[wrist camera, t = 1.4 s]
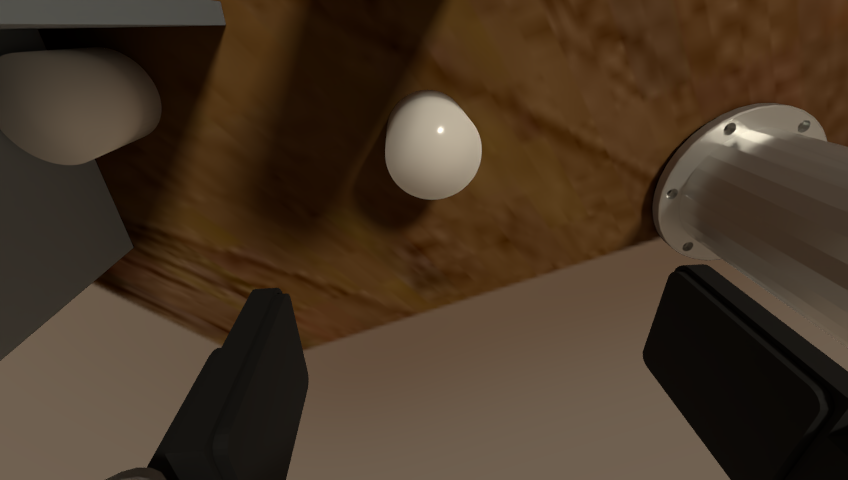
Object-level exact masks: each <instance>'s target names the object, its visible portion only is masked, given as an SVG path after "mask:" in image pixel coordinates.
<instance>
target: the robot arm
mask: <svg viewBox="0 0 848 480" xmlns="http://www.w3.org/2000/svg"><path fill="white" fill-rule="evenodd" d="M652 210H653V221H654V224H655V227H656V230H657V232H658V233H659V235H660V236H661V238H662V239H663V240H664V241H665V242H666V243H667V244H668V245H669V246H671V247H672V248H673V249H674V250H675V251H677V252H678V253H680V254H682V255H684V256H687V257H690V258H693V259H700V260H720V259H723V260H725V261H726V262H727V263H729V264H730V265H731V266H733V267H734V268H736V269H737V270H738V271H740V272H741V273H743V274H744V275H745V276H747V277H748V278H750V279H751V280H752V281H754V282H755V283H757V284H758V285H760V286H761V287H762V288H764V289H765V290H767V291H768V292H770V293H771V294H772V295H774V296H775V297H776V298H778V299H779V300H781V301H782V302H783V303H785V304H786V305H787V306H789V307H790V308H792V309H793V310H794V311H796V312H797V313H799V314H800V315H802V316H803V317H804V318H806V319H807V320H809V321H810V322H811V323H813V324H814V325H816V326H817V327H818V328H820V329H821V330H823V331H824V332H825V333H827V334H828V335H830V336H831V337H832V338H834V339H835V340H837V341H838V342H840V343H841V344H842V345H844V346H845V347H846V348H848V147H846V146H842V145H838V144H834V143H831V142H827V139H826V136H825V133H824V130H823V128H822V127H821V125H820V124H819V123H818V121H817V120H816V119H815V118H814V117H813V116H811V115H810V114H809V113H807V112H806V111H804V110H801V109H798V108H795V107H792V106H788V105H782V104H776V103H758V104H753V105H748V106H744V107H740V108H737V109H735V110H732V111H730V112H727V113H725V114H723V115H721V116H719V117H717V118H716V119H714V120H712V121H711V122H709V123H707V124H706V125H704V126H703V127H702V128H701V129H699V130H698V131H697V132H695V133H694V134H693V135H692V136H690V137H689V139H688V140H687V141H686V142H685V143H684V144H683V145H682V146H681V147H680V148H679V149H678V150H677V151H676V153H675V154H674V155H673V157H672V158H671V159H670V161H669V162H668V164H667V165H666V167H665V169H664V171H663V173H662V175H661V176H660V178H659V181H658V184H657V187H656V190H655V193H654V199H653V206H652ZM643 359H644V362H645V364H646V366H647V367H648V369H649V370H650V371H651V373H652V374H653V376H654V377H655V378H656V379H657V381H658V382H659V383H660V385H661V386H662V388H663V389H664V390H665V392H666V393H667V394H668V396H669V397H670V398H671V400H672V401H673V402H674V404H675V405H676V406H677V408H678V409H679V410H680V412H681V413H682V415H683V416H684V417H685V418H686V420H687V421H688V423H689V424H690V425H691V427H692V428H693V429H694V431H695V432H696V434H697V435H698V436H699V437H700V439H701V440H702V442H703V443H704V444H705V446H706V447H707V448H708V450H709V451H710V452H711V454H712V455H713V456H714V458H715V459H716V460H717V462H718V463H719V465H720V466H721V467H722V468H723V470H724V471H725V473H726V474H727V475H728V477H729V478H730V479H731V480H848V371H846V370H845V369H844V368H842V367H841V366H840V365H839V364H837V363H836V362H834V361H833V360H832V359H831V358H829V357H828V356H827V355H825V354H824V353H823V352H821V351H820V350H819V349H817V348H816V347H815V346H814V345H812V344H811V343H809V342H808V341H807V340H806V339H804V338H803V337H802V336H800V335H799V334H798V333H796V332H795V331H794V330H792V329H791V328H790V327H789V326H787V325H786V324H785V323H783V322H782V321H781V320H779V319H778V318H777V317H776V316H774V315H773V314H771V313H770V312H769V311H768V310H766V309H765V308H764V307H762V306H761V305H760V304H758V303H757V302H756V301H755V300H753V299H752V298H750V297H749V296H748V295H747V294H745V293H744V292H743V291H741V290H740V289H739V288H737V287H736V286H735V285H733V284H732V283H731V282H729V281H728V280H727V279H725V278H724V277H723V276H722V275H720V274H719V273H718V272H716V271H715V270H714V269H712V268H711V267H710V266H708V265H703V264H702V265H683V266H679V267H677V268H676V269H675V271H674V272H672V273H671V274H670V275H669V277H668V280H667V283H666V286H665V289H664V291H663V294H662V297H661V300H660V303H659V306H658V309H657V312H656V315H655V318H654V321H653V323H652V327H651V329H650V333H649V335H648V338H647V341H646V344H645V347H644V350H643ZM307 389H308V372H307V367H306V363H305V359H304V354H303V350H302V346H301V341H300V337H299V333H298V328H297V324H296V320H295V315H294V311H293V307H292V303H291V298H290V296H289V294H282V291H281V290H280V289H279V288H268V289H254V290H253V291H252V292H251V294H250V296H249V297H248V299H247V301H246V303H245V305H244V307H243V309H242V310H241V312H240V314H239V316H238V318H237V320H236V322H235V323H234V325H233V327H232V329H231V331H230V333H229V335H228V336H227V338H226V340H225V342H224V344H223V346H222V348H217V349H216V350H214V351H213V352H212V353H211V355H210V356H209V357H208V359H207V361H206V363H205V365H204V366H203V368H202V370H201V372H200V374H199V375H198V377H197V379H196V381H195V383H194V384H193V386H192V388H191V390H190V391H189V393H188V395H187V397H186V399H185V400H184V402H183V404H182V406H181V407H180V409H179V411H178V413H177V415H176V416H175V418H174V420H173V422H172V423H171V425H170V427H169V429H168V431H167V432H166V434H165V436H164V438H163V440H162V441H161V443H160V445H159V447H158V448H157V450H156V452H155V454H154V456H153V458H152V459H151V461H150V463H149V464H148V466H147V468H134V469H130V470H126V471H123V472H120V473H118V474H116V475H114V476H112V477H110V478H108V479H106V480H286V477H287V473H288V469H289V464H290V460H291V456H292V451H293V448H294V444H295V439H296V435H297V431H298V427H299V423H300V418H301V414H302V410H303V406H304V402H305V398H306V393H307Z"/></svg>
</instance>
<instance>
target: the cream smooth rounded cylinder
mask: <svg viewBox="0 0 848 480" xmlns="http://www.w3.org/2000/svg"><path fill="white" fill-rule="evenodd" d="M481 155H482V146H481V140H480V136H479V134H478V131H477V129H476V127H475V126H474V124H473V123H472V121H471V120H470V119H469V118H468V117H467V115H466V114H465V113H464V112H463V110H462V109H461V108H460V107H459V105H458V104H457V103H456V102H455V101H454V100H453V99H452V98H451V97H449V96H448V95H446V94H444V93H442V92H439V91H434V90H420V91H416V92H413V93H411V94H409V95H407V96H405V97H404V98H403V99H401V100H400V101H399V102H398V103H397V104H396V106H395V107H394V108H393V110H392V112H391V114H390V116H389V119H388V123H387V133H386V146H385V159H386V165H387V168H388V171H389V173H390V175H391V177H392V179H393V180H394V181H395V183H396V184H397V185H398V186H399V187H400V188H401V189H402V190H404V191H405V192H407V193H408V194H410V195H412V196H415V197H418V198H421V199H428V200H436V199H442V198H446V197H449V196H452V195H454V194H456V193H458V192H459V191H461V190H462V189H463V188H464V187H466V186H467V185H468V184H469V183H470V181H471V180H472V179H473V177H474V176H475V174H476V172H477V170H478V168H479V165H480V161H481Z"/></svg>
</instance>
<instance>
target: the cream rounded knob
mask: <svg viewBox="0 0 848 480" xmlns="http://www.w3.org/2000/svg"><path fill="white" fill-rule="evenodd" d="M161 112H162V106H161V100H160V96H159V93H158V90H157V88H156V86H155V84H154V82H153V81H152V79H151V78H150V76H149V75H148V74H147V73H146V72H145V70H144V69H143V68H142V67H141V66H140V65H138V64H137V63H136V62H135V61H133V60H132V59H131V58H129V57H127V56H126V55H124V54H122V53H120V52H117V51H115V50H112V49H108V48H103V47H88V48H74V49H59V50H45V51H31V52H17V53H9V54H5V55H2V56H0V130H1V131H2V132H3V133H4V134H5V135H6V136H7V137H8V138H9V139H10V140H11V141H12V142H13V143H15V144H16V145H17V146H18V147H20V148H21V149H23V150H24V151H26V152H28V153H29V154H31V155H33V156H35V157H37V158H39V159H42V160H45V161H48V162H51V163H55V164H61V165H79V164H83V163H86V162H88V161H91V160H93V159H95V158H97V157H100V156H102V155H104V154H106V153H109V152H111V151H113V150H116V149H118V148H120V147H122V146H125V145H127V144H129V143H131V142H134V141H136V140H138V139H140V138H143V137H145V136H147V135H148V134H150V133H151V132H152V131H153V130H154V129H155V128H156V127H157V125H158V123H159V121H160V118H161Z"/></svg>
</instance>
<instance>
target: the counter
mask: <svg viewBox="0 0 848 480" xmlns="http://www.w3.org/2000/svg"><path fill="white" fill-rule="evenodd" d="M211 25H226V24H225V20H224V15H223V11H222V7H221V2H219V1H211V0H0V56H2V55H5V54H9V53H17V52H31V51H45V50H47V49H46V47H45V45H44V43H43V40H42V38H41V36H40V33H39V31H38V29H71V28H118V27H164V26H211ZM133 248H134V247H133V245H132V243H131V240H130V238H129V236H128V233H127V231H126V229H125V227H124V224H123V222H122V220H121V218H120V215H119V213H118V211H117V208H116V206H115V204H114V202H113V199H112V197H111V195H110V193H109V190H108V188H107V186H106V183H105V181H104V179H103V177H102V174H101V172H100V170H99V168H98V165H97V163H96V161H95V159H93V160H91V161H88V162H86V163H83V164H79V165H61V164H55V163H51V162H48V161H45V160H42V159H39V158H37V157H35V156H33V155H31V154H29V153H28V152H26V151H24V150H23V149H21V148H20V147H18V146H17V145H16V144H15V143H13V142H12V141H11V140H10V139H9V138H8V137H7V136H6V135H5V134H4V133H3V132H2V131H1V130H0V361H1V360H2V359H3V358H4V357H5V356H7V355H8V354H9V353H10V352H11V351H12V350H14V349H15V348H16V347H17V346H18V345H19V344H21V343H22V342H23V341H24V340H25V339H26V338H27V337H29V336H30V335H31V334H32V333H34V332H35V331H36V330H37V329H38V328H39V327H41V326H42V325H43V324H44V323H45V322H46V321H48V320H49V319H50V318H51V317H52V316H54V315H55V314H56V313H57V312H58V311H59V310H61V309H62V308H63V307H64V306H65V305H67V304H68V303H69V302H70V301H71V300H72V299H74V298H75V297H76V296H77V295H78V294H80V293H81V292H82V291H83V290H84V289H85V288H87V287H88V286H89V285H90V284H91V283H93V282H94V281H95V280H96V279H97V278H98V277H100V276H101V275H102V274H103V273H104V272H105V271H107V270H108V269H109V268H110V267H111V266H113V265H114V264H115V263H116V262H117V261H118V260H120V259H121V258H122V257H123V256H124V255H126V254H127V253H128V252H129V251H130V250H131V249H133Z"/></svg>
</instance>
